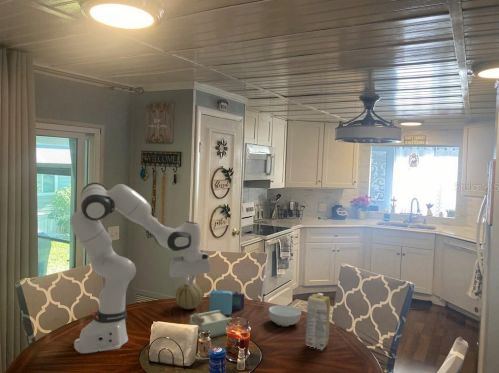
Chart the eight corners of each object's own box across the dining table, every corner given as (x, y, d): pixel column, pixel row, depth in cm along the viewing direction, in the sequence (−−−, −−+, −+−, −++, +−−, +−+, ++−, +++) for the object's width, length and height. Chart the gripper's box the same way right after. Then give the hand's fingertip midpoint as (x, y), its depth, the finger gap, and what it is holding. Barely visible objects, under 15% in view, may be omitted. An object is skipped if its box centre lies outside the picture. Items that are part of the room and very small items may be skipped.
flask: (227, 309, 224) (228, 290, 223) (227, 307, 226) (228, 289, 226) (243, 310, 224) (244, 291, 223) (243, 308, 227) (244, 289, 226)
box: (202, 339, 183) (202, 324, 183) (189, 329, 194) (190, 315, 194) (231, 332, 192) (232, 318, 192) (218, 323, 203) (218, 309, 203)
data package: (231, 312, 219) (232, 290, 219) (231, 315, 215) (232, 293, 214) (209, 311, 219) (210, 290, 219) (209, 314, 215) (209, 292, 214)
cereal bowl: (306, 328, 202) (307, 314, 201) (276, 331, 196) (277, 317, 195) (290, 316, 217) (291, 303, 217) (263, 319, 211) (263, 306, 211)
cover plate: (201, 327, 185) (202, 319, 185) (192, 320, 193) (193, 313, 193) (229, 321, 193) (229, 314, 193) (219, 315, 201) (219, 308, 201)
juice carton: (329, 345, 182) (331, 294, 181) (323, 352, 175) (326, 298, 174) (310, 340, 187) (312, 290, 186) (303, 346, 180) (306, 294, 179)
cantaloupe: (202, 304, 231) (203, 278, 230) (201, 313, 216) (201, 286, 215) (176, 303, 230) (177, 278, 229) (173, 312, 215) (174, 285, 214)
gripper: (173, 258, 180) (172, 289, 180) (212, 254, 192) (211, 283, 192) (167, 256, 185) (166, 285, 185) (205, 252, 197) (204, 280, 197)
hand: (189, 284), depth 189 cm, fingers closed
